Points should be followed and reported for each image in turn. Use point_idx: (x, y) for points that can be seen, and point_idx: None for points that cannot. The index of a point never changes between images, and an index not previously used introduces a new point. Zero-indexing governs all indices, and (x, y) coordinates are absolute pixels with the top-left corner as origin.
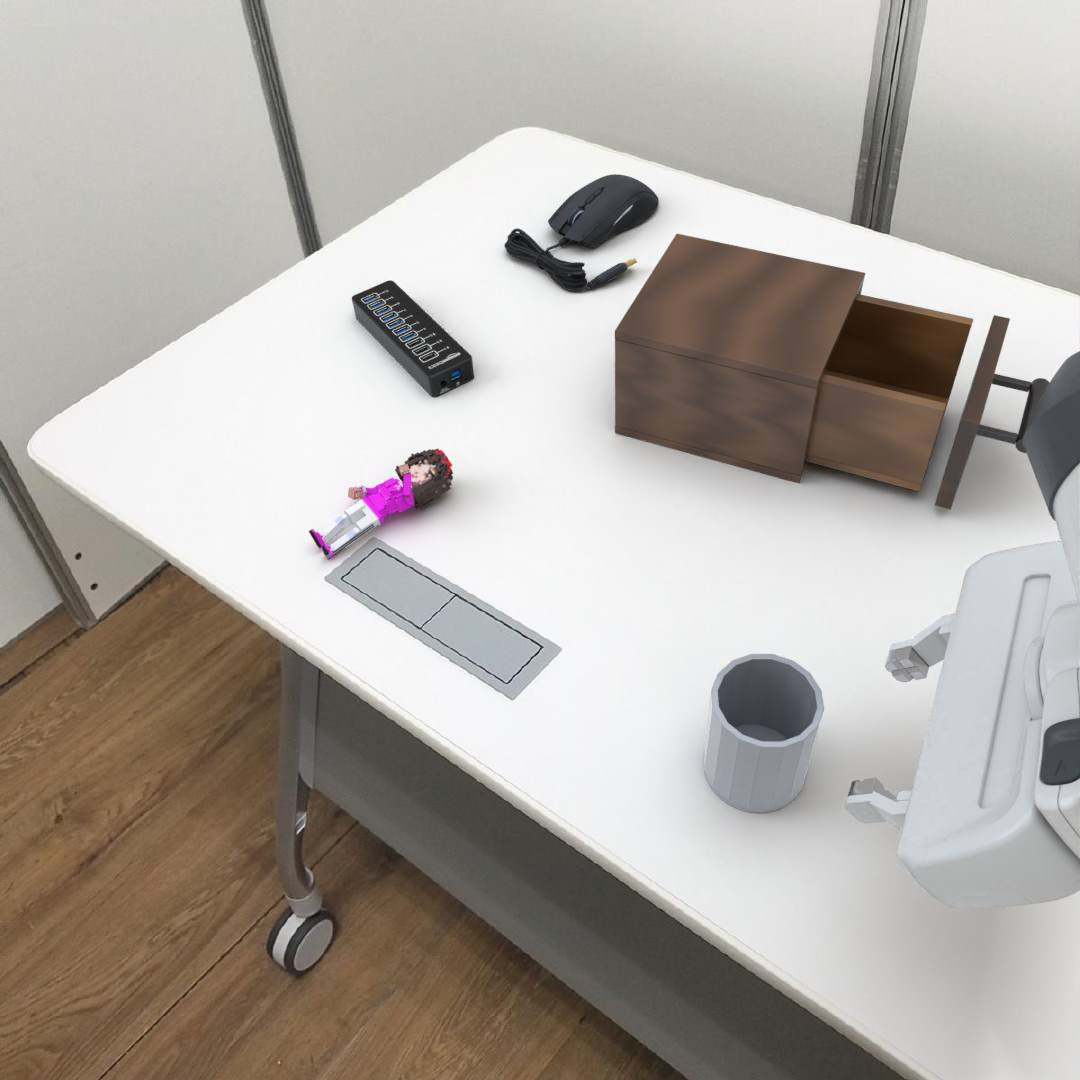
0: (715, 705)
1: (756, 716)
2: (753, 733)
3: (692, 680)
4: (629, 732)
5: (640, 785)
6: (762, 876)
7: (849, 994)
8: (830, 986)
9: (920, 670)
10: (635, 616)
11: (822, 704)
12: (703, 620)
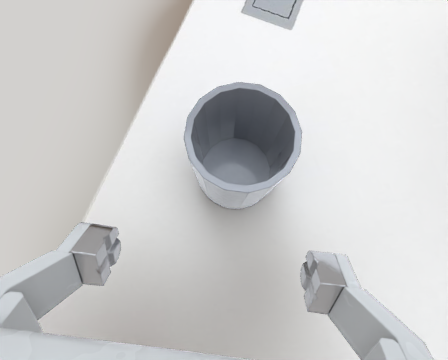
0: (220, 88)
1: (270, 161)
2: (260, 164)
3: None
4: None
5: None
6: (151, 191)
7: None
8: None
9: (313, 302)
10: (336, 68)
11: (252, 190)
12: (351, 114)
